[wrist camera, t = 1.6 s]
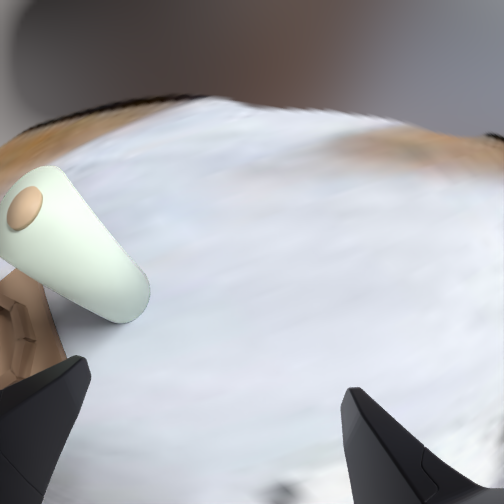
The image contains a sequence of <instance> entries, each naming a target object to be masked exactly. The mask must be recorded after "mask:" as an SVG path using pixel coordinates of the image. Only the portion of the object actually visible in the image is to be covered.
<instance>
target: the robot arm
mask: <svg viewBox="0 0 504 504" xmlns="http://www.w3.org/2000/svg"><path fill="white" fill-rule="evenodd" d="M90 381H91V373H90V370H89V366H88V363H87V360H86V359H85V358H84V357H81V356H78V355H74V356H72V357H70V358H68V359H66V360H64V361H62V362H60V363H57V364H55V365H53V366H51V367H49V368H47V369H45V370H43V371H40V372H38V373H36V374H34V375H32V376H30V377H28V378H25V379H23V380H21V381H19V382H17V383H15V384H12V385H10V386H8V387H6V388H4V389H3V390H2V389H1V390H0V504H41V503H42V501H43V498H44V497H43V496H44V495H45V492H46V489H47V487H48V484H49V481H50V479H51V476H52V474H53V471H54V469H55V466H56V464H57V461H58V459H59V457H60V454H61V452H62V450H63V447H64V445H65V443H66V440H67V438H68V436H69V434H70V432H71V429H72V427H73V425H74V423H75V421H76V419H77V416H78V414H79V412H80V409H81V406H82V403H83V401H84V398H85V395H86V392H87V389H88V387H89V384H90ZM341 420H342V432H343V445H344V452H345V457H346V462H347V467H348V472H349V478H350V483H351V489H352V494H353V500H354V504H504V488H486V487H482V486H480V485H478V484H476V483H474V482H473V481H471V480H470V479H468V478H467V477H465V476H463V475H462V474H460V473H459V472H457V471H456V470H454V469H453V468H452V467H450V466H449V465H447V464H446V463H445V462H443V461H442V460H441V459H439V458H438V457H437V456H436V455H435V454H433V453H432V452H431V451H430V450H429V449H428V448H427V447H424V445H423V444H422V443H421V442H420V441H419V440H417V439H416V438H415V437H414V436H413V435H412V434H411V433H410V432H408V431H407V430H406V429H405V428H404V427H403V426H402V425H401V424H400V423H398V422H397V421H396V420H395V419H394V418H393V417H392V416H391V415H390V414H389V413H387V412H386V411H385V410H384V409H383V408H382V407H381V406H380V405H379V404H378V403H376V402H375V401H374V400H373V399H372V398H371V397H370V396H369V395H368V394H367V393H366V392H365V391H363V390H362V389H361V388H360V387H350V388H348V389H347V391H346V393H345V396H344V398H343V401H342V404H341Z"/></svg>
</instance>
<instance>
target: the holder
mask: <svg viewBox="0 0 504 504" xmlns="http://www.w3.org/2000/svg"><path fill="white" fill-rule="evenodd" d="M66 359H67V357H66V354H65V352H64V349H63V347H62V344H61V341H60V339H59V336H58V333H57V330H56V327H55V324H54V322H53V318H52V315H51V312H50V309H49V306H48V303H47V299H46V296H45V292H44V288H43V285H42V284H41V283H39V282H37V281H36V280H34V279H33V278H31V277H29V276H28V275H26V274H25V273H23V272H21V271H20V270H18V269H17V268H16V269H14V270H13V271H12V272H11V273H9V274H8V275H7V276H6V277H5V278H4V279H2V280H1V281H0V390H1V389H2V390H3V389H4V388H6V387H8V386H10V385H12V384H15V383H17V382H19V381H21V380H23V379H25V378H28V377H30V376H32V375H34V374H36V373H38V372H40V371H43V370H45V369H47V368H49V367H51V366H53V365H55V364H57V363H60V362H62V361H64V360H66Z"/></svg>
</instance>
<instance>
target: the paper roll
mask: <svg viewBox="0 0 504 504" xmlns="http://www.w3.org/2000/svg"><path fill="white" fill-rule="evenodd" d="M0 257H1V258H2V259H3V260H5V261H6V262H8V263H9V264H11V265H12V266H14V267H15V268H17V269H18V270H20V271H21V272H23V273H25V274H26V275H28V276H29V277H31V278H33V279H34V280H36V281H37V282H39V283H41V284H42V285H44V286H46V287H47V288H49V289H51V290H53V291H54V292H56V293H58V294H59V295H61V296H63V297H65V298H67V299H68V300H70V301H72V302H74V303H76V304H78V305H79V306H81V307H83V308H85V309H87V310H89V311H91V312H93V313H95V314H97V315H99V316H101V317H103V318H105V319H107V320H109V321H111V322H114V323H119V324H122V323H128V322H131V321H133V320H135V319H136V318H138V317H139V316H140V315H141V314H142V313H143V311H144V310H145V308H146V307H147V305H148V302H149V298H150V284H149V281H148V278H147V276H146V275H145V273H144V272H143V271H142V270H141V269H140V268H139V267H138V265H137V264H136V263H135V262H134V261H133V260H132V259H131V257H130V256H129V255H128V254H127V253H126V252H125V250H124V249H123V248H122V247H121V246H120V245H119V243H118V242H117V241H116V240H115V239H114V237H113V236H112V235H111V234H110V233H109V231H108V230H107V229H106V228H105V226H104V225H103V224H102V223H101V221H100V220H99V219H98V218H97V216H96V215H95V214H94V213H93V211H92V210H91V209H90V207H89V206H88V205H87V204H86V202H85V201H84V200H83V198H82V197H81V196H80V194H79V193H78V192H77V190H76V189H75V188H74V186H73V185H72V183H71V182H70V181H69V179H68V178H67V177H66V175H65V174H64V172H63V171H62V170H61V169H59V168H58V167H55V166H42V167H39V168H36V169H34V170H32V171H30V172H28V173H27V174H25V175H24V176H23V177H21V178H20V179H19V180H18V181H17V182H16V183H15V184H14V185H13V186H12V187H11V188H10V189H9V191H8V192H7V193H6V195H5V196H4V198H3V200H2V201H1V203H0Z"/></svg>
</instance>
